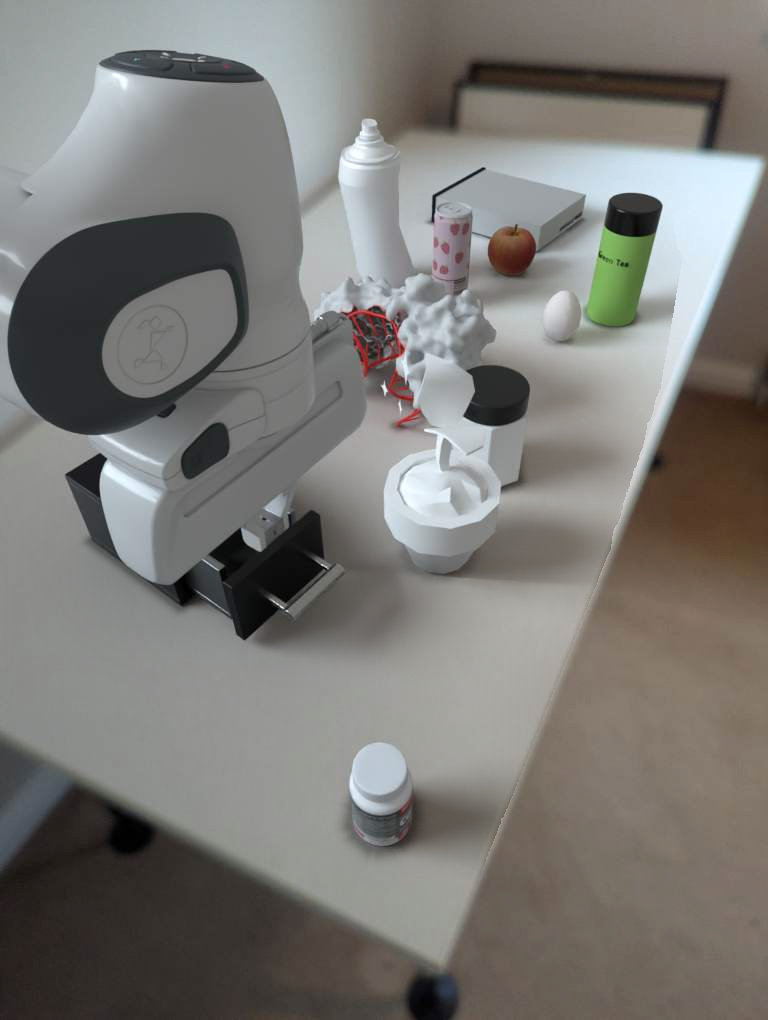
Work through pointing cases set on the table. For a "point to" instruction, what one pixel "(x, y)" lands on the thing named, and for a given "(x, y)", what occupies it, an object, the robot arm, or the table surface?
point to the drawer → (265, 575)
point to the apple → (511, 250)
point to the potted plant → (443, 478)
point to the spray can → (374, 207)
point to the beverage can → (452, 246)
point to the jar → (499, 418)
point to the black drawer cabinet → (90, 505)
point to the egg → (562, 316)
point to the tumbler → (623, 258)
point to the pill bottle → (381, 794)
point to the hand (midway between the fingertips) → (267, 536)
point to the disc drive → (514, 204)
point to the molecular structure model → (410, 326)
